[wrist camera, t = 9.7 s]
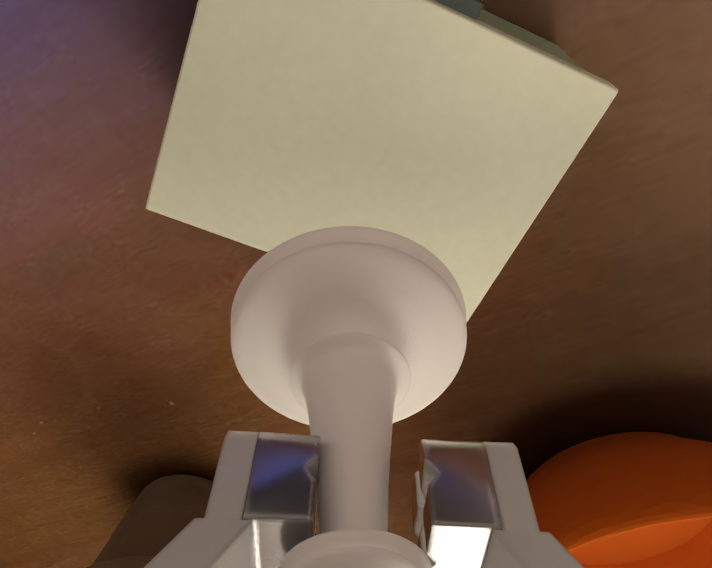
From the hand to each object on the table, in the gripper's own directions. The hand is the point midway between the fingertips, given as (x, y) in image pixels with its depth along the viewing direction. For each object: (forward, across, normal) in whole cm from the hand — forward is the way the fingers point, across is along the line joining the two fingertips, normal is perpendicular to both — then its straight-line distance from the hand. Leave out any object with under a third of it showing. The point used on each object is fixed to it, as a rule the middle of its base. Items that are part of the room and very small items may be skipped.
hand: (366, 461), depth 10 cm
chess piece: (+4, 0, 0) cm, 4 cm away
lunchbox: (+20, 0, 0) cm, 20 cm away
